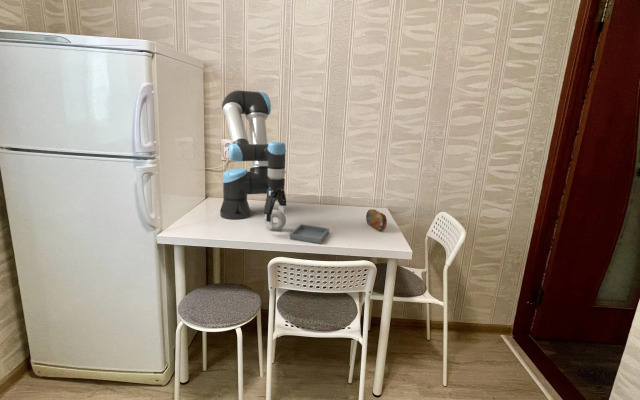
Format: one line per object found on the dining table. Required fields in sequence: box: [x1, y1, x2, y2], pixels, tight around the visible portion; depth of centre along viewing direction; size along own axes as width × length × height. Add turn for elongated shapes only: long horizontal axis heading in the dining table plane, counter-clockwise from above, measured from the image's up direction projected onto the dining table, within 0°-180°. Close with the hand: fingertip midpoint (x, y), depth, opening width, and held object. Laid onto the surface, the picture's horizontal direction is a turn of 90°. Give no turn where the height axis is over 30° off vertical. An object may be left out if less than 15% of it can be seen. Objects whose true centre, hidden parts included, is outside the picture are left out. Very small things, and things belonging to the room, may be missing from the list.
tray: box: [289, 223, 330, 245], centre depth 151 cm, size 14×14×2 cm
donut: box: [264, 208, 287, 231], centre depth 155 cm, size 10×4×10 cm, turn 86°
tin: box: [365, 208, 388, 232], centre depth 166 cm, size 15×3×8 cm, turn 23°
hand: (275, 223), depth 155 cm, fingers open, 13 cm apart
